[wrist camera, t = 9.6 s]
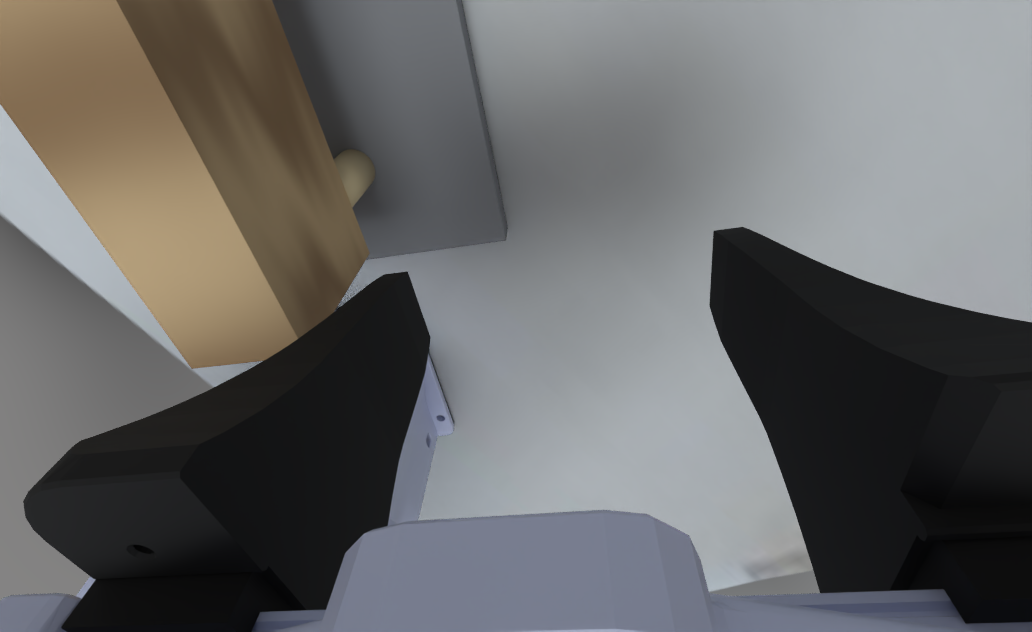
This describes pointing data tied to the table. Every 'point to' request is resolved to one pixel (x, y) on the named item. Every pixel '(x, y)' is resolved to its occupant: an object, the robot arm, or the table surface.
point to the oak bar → (188, 162)
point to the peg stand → (400, 118)
